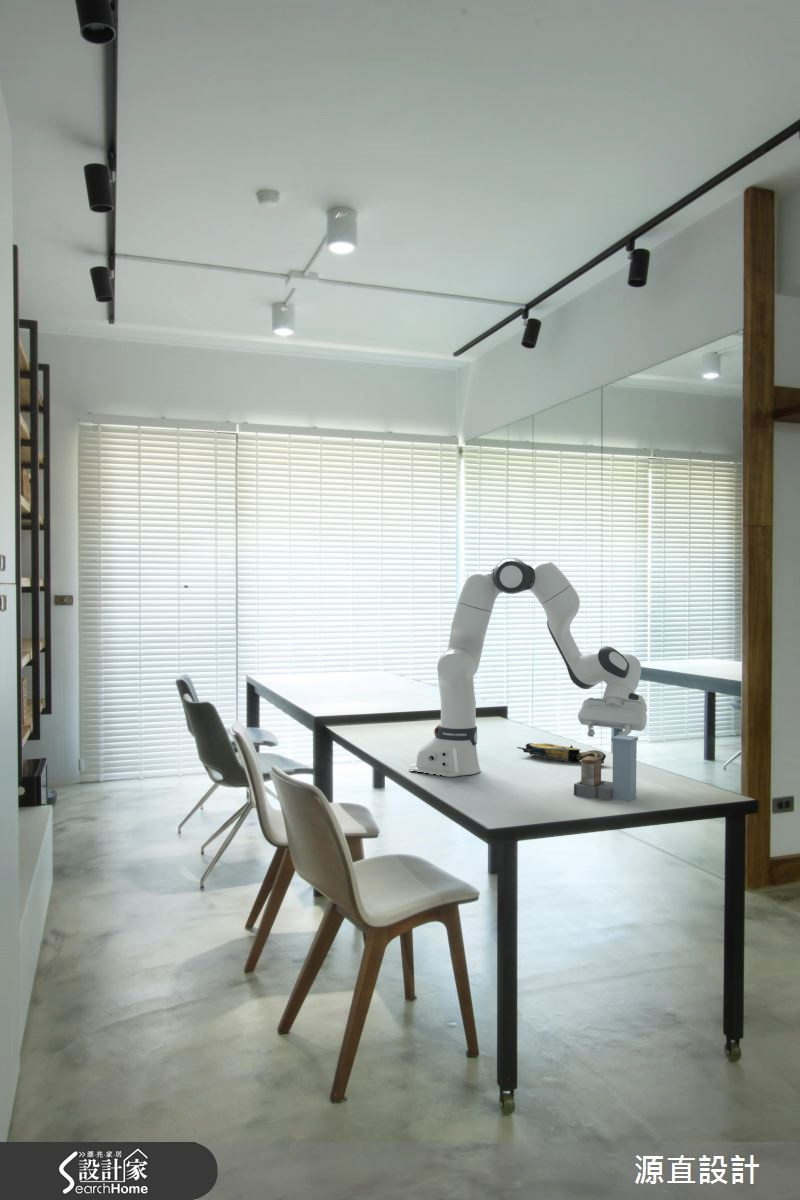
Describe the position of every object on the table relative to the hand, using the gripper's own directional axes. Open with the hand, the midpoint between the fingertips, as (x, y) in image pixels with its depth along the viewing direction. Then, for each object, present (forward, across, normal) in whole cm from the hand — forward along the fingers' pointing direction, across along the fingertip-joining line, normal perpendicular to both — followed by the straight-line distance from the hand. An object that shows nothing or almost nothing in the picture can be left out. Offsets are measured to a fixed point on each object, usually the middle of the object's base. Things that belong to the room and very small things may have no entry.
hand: (605, 737), depth 250 cm
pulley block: (-7, -23, +28) cm, 37 cm away
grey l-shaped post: (+19, +5, +1) cm, 19 cm away
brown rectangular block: (+19, +1, +1) cm, 19 cm away
